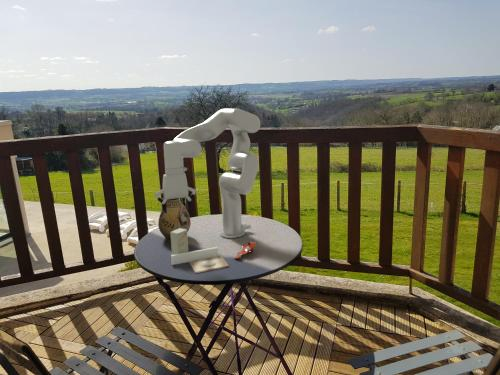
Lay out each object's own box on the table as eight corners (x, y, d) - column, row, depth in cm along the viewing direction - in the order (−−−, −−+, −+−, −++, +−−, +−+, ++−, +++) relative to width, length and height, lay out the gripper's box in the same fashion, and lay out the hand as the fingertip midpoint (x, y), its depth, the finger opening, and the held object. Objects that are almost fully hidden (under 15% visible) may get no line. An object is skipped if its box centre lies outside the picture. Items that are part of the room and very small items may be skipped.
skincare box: (179, 260, 155) (177, 233, 152) (171, 258, 157) (169, 232, 154) (189, 255, 160) (187, 229, 157) (181, 253, 163) (179, 227, 160)
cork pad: (221, 257, 158) (221, 255, 157) (228, 266, 149) (228, 265, 148) (189, 263, 152) (189, 261, 152) (195, 273, 143) (195, 271, 143)
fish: (252, 237, 166) (262, 243, 159) (252, 247, 167) (262, 253, 160) (227, 244, 159) (236, 250, 152) (227, 254, 161) (237, 261, 153)
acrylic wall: (217, 255, 159) (216, 246, 158) (217, 256, 159) (217, 247, 158) (171, 264, 152) (170, 255, 151) (171, 265, 151) (171, 256, 150)
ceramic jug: (183, 245, 171) (178, 183, 163) (153, 243, 175) (148, 182, 167) (197, 233, 186) (194, 175, 179) (170, 230, 191) (166, 174, 183)
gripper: (193, 168, 157) (194, 206, 160) (151, 171, 150) (154, 211, 154) (197, 171, 150) (199, 211, 154) (154, 174, 143) (157, 216, 147)
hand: (176, 211), depth 154 cm, fingers open, 9 cm apart
